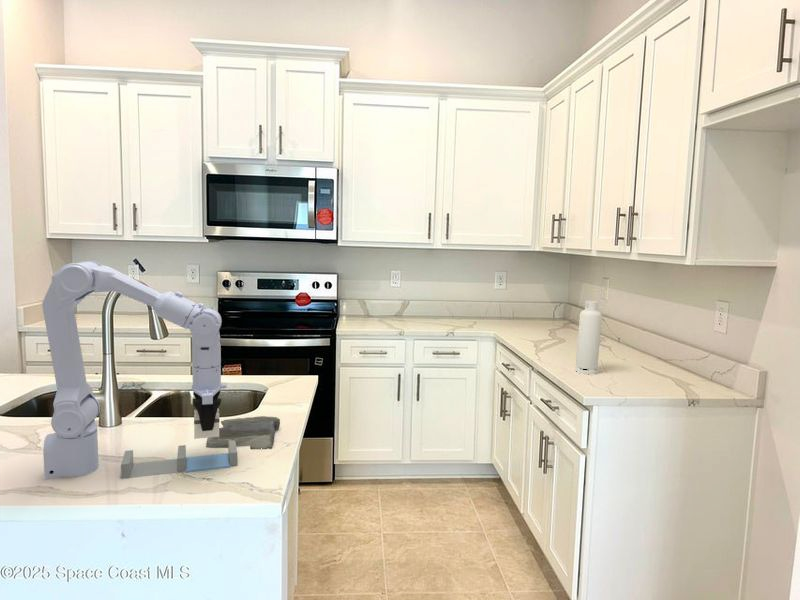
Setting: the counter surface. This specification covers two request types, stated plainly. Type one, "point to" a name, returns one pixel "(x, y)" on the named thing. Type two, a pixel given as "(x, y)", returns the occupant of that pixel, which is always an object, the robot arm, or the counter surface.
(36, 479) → the counter surface
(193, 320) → the robot arm
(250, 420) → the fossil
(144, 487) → the counter surface
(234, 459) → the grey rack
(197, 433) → the block
